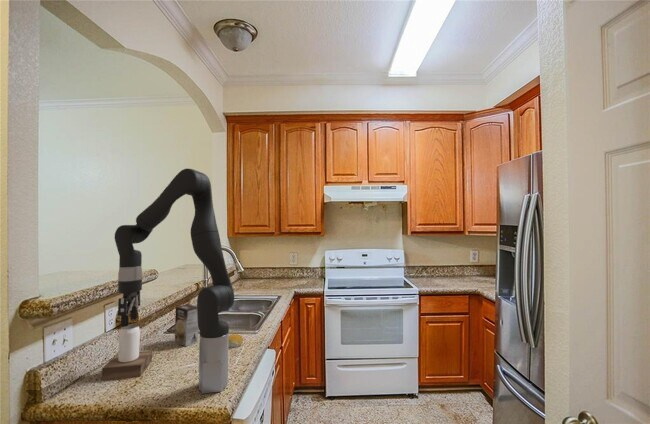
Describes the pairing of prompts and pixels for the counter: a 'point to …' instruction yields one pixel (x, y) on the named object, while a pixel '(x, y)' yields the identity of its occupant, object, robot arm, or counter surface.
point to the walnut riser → (127, 367)
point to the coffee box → (186, 325)
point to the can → (129, 343)
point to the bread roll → (235, 340)
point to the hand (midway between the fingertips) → (129, 322)
